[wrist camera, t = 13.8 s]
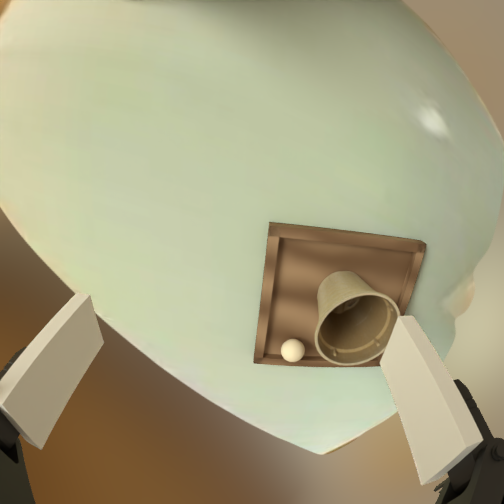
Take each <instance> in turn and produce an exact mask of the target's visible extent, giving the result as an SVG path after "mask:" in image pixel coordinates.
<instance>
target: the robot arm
mask: <svg viewBox="0 0 504 504" xmlns="http://www.w3.org/2000/svg"><path fill="white" fill-rule="evenodd" d="M103 343H104V341H103V338H102V335H101V332H100V329H99V326H98V322H97V318H96V315H95V311H94V308H93V304H92V300H91V296H90V295H89V294H82V293H76V294H75V295H74V296H73V297H72V298H71V299H70V300H69V301H68V302H67V303H66V305H65V306H64V307H63V308H62V309H61V310H60V311H59V312H58V313H57V314H56V315H55V316H54V318H53V319H51V321H50V322H49V323H48V324H47V325H46V326H45V327H44V328H43V330H42V331H41V332H40V333H39V334H38V335H37V336H36V338H35V339H34V340H33V341H32V342H31V343H30V344H29V346H28V347H24V348H22V349H21V350H20V351H18V352H16V353H15V355H14V356H13V357H12V358H11V360H10V361H9V363H7V364H6V366H5V367H4V370H2V371H1V372H0V504H35V501H34V498H33V494H32V491H31V487H30V483H29V479H28V475H27V471H26V467H25V462H24V457H23V452H22V447H21V443H20V440H19V438H18V436H19V434H21V435H22V436H23V438H24V439H25V440H26V441H27V442H29V443H30V444H32V445H34V446H35V447H37V448H39V449H41V450H42V448H43V446H44V444H45V442H46V440H47V438H48V436H49V434H50V432H51V431H52V429H53V427H54V425H55V423H56V421H57V420H58V418H59V416H60V414H61V412H62V411H63V409H64V407H65V405H66V404H67V401H68V400H69V398H70V397H71V395H72V393H73V392H74V390H75V388H76V386H77V385H78V383H79V382H80V380H81V378H82V377H83V375H84V373H85V372H86V370H87V368H88V367H89V365H90V363H91V362H92V360H93V359H94V357H95V356H96V354H97V353H98V351H99V350H100V348H101V347H102V345H103ZM380 366H381V368H382V371H383V373H384V376H385V378H386V381H387V383H388V386H389V389H390V391H391V394H392V397H393V399H394V402H395V405H396V408H397V410H398V413H399V416H400V419H401V422H402V425H403V427H404V430H405V433H406V436H407V439H408V443H409V446H410V449H411V452H412V455H413V458H414V462H415V465H416V468H417V472H418V475H419V479H420V483H421V485H424V484H427V483H430V482H433V481H435V480H438V479H439V478H441V477H442V476H443V475H445V474H446V473H447V472H448V475H449V477H448V478H447V479H446V480H445V481H443V482H442V483H441V484H439V485H438V486H436V488H435V489H434V491H437V490H439V489H440V488H442V487H443V488H442V490H441V491H440V492H439V493H440V495H439V497H438V499H437V502H436V504H504V440H503V439H502V438H494V437H493V436H492V434H491V432H490V430H489V428H488V426H487V424H486V422H485V420H484V418H483V416H482V414H481V412H480V410H479V408H477V405H476V403H475V401H474V399H472V398H473V397H472V396H471V394H470V392H469V390H468V388H467V387H466V386H465V385H464V384H463V383H462V382H461V381H460V380H458V379H457V380H453V379H452V378H451V376H450V374H449V372H448V371H447V369H446V367H445V366H444V364H443V362H442V360H441V359H440V357H439V355H438V354H437V352H436V351H435V349H434V347H433V346H432V344H431V342H430V341H429V339H428V338H427V336H426V335H425V333H424V332H423V330H422V328H421V327H420V325H419V324H418V322H417V321H416V319H415V318H414V316H398V318H397V321H396V324H395V326H394V329H393V332H392V334H391V337H390V339H389V342H388V344H387V347H386V349H385V351H384V354H383V356H382V358H381V361H380Z"/></svg>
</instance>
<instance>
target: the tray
mask: <svg viewBox="0 0 504 504" xmlns="http://www.w3.org/2000/svg"><path fill="white" fill-rule="evenodd" d="M425 248H426V244H425V243H424V242H423V241H421V240H415V239H408V238H400V237H393V236H386V235H378V234H371V233H363V232H355V231H347V230H339V229H330V228H321V227H312V226H303V225H294V224H284V223H275V222H269V230H268V239H267V248H266V258H265V266H264V275H263V284H262V293H261V301H260V310H259V318H258V327H257V335H256V343H255V352H254V363H257V364H270V365H285V366H308V367H372V366H380V361H381V358H382V356H383V354H384V352H383V353H381V354H380V355H379V356H377V357H375V358H374V359H372V360H370V361H368V362H365V363H362V364H358V365H350V366H344V365H337V364H334V363H331V362H329V361H327V360H326V359H324V358H323V357H322V356H321V355H320V354H319V352H318V351H317V348H316V346H315V330H316V327H317V324H318V321H319V311H318V299H317V294H318V289H319V286H320V285H321V283H322V282H323V280H324V279H325V278H326V277H328V276H329V275H331V274H332V273H335V272H338V271H351V272H354V273H356V274H357V275H358V276H360V278H361V279H362V280H364V281H365V282H366V283H367V284H368V285H369V286H370V287H371V288H372V289H374V290H375V291H377V292H380V293H383V294H385V295H387V296H388V297H390V298H391V299H392V300H393V301H394V302H395V303H396V305H397V306H398V309H399V311H400V316H404V314H405V311H406V308H407V306H408V303H409V300H410V297H411V294H412V291H413V288H414V285H415V282H416V279H417V276H418V272H419V269H420V266H421V262H422V259H423V255H424V252H425ZM354 302H355V301H352V302H350V304H349V305H348V306H350V305H352V304H353V303H354ZM289 339H297V340H299V341H301V342H302V343H303V345H304V348H305V352H304V355H303V357H302V358H301V359H300V360H299V361H296V362H289V361H287V360H285V359H284V358H283V356H282V354H281V347H282V345H283V343H284V342H285V341H287V340H289Z"/></svg>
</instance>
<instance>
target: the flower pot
mask: <svg viewBox="0 0 504 504" xmlns="http://www.w3.org/2000/svg"><path fill="white" fill-rule="evenodd" d="M317 299H318V311H319V321H318V324H317V327H316V330H315V346H316V348H317V351H318V352H319V354H320V355H321V356H322V357H323V358H324V359H326V360H327V361H329V362H331V363H334V364H337V365H344V366H350V365H358V364H362V363H365V362H368V361H370V360H372V359H374V358H375V357H377V356H379V355H380V354H381V353H383V352H384V351H385V349H386V347H387V344H388V342H389V339H390V337H391V334H392V332H393V329H394V326H395V324H396V321H397V318H398V316H400V311H399V309H398V306H397V305H396V303H395V302H394V301H393V300H392V299H391V298H390V297H388V296H387V295H385V294H383V293H380V292H377V291H375V290H374V289H372V288H371V287H370V286H369V285H368V284H367V283H366V282H365V281H364V280H362V279H361V278H360V276H358V275H357V274H356V273H354V272H351V271H338V272H335V273H332V274H331V275H329V276H328V277H326V278H325V279H324V280H323V282H322V283H321V285H320V286H319V289H318V294H317ZM352 301H355V302H354V303H353V304H352V305H350V306H348V305H349V304H350V302H352Z"/></svg>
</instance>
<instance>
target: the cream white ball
mask: <svg viewBox="0 0 504 504" xmlns="http://www.w3.org/2000/svg"><path fill="white" fill-rule="evenodd" d="M304 352H305V348H304V345H303V343H302V342H301V341H299V340H297V339H289V340H287V341H285V342H284V343H283V345H282V347H281V354H282V356H283V358H284V359H285V360H287V361H289V362H296V361H299V360H300V359H301V358H302V357H303V355H304Z"/></svg>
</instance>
